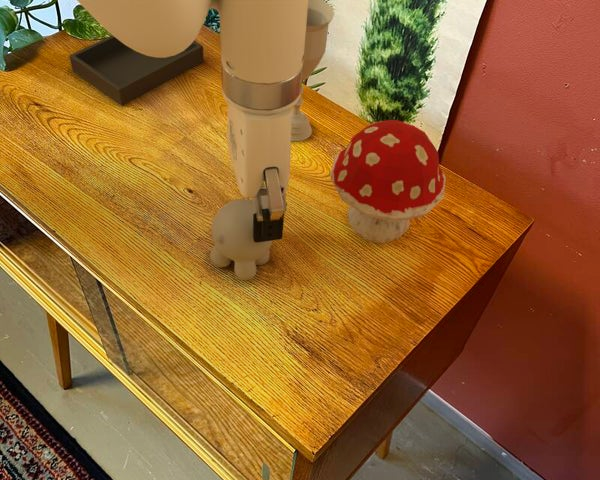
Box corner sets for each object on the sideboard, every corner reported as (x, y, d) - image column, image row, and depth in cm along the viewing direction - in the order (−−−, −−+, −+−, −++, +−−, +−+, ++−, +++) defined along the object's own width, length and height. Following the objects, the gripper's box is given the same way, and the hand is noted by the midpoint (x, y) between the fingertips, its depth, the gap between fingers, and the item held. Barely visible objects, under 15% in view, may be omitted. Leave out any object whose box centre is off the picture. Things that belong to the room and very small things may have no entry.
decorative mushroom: (317, 187, 88) (330, 91, 76) (419, 187, 90) (447, 93, 78) (327, 267, 80) (344, 174, 68) (440, 267, 82) (475, 175, 70)
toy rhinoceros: (307, 233, 83) (313, 183, 76) (247, 292, 77) (248, 243, 70) (262, 207, 85) (264, 155, 79) (199, 261, 79) (196, 211, 72)
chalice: (262, 137, 94) (267, 17, 79) (277, 109, 98) (284, -10, 83) (312, 150, 93) (325, 31, 78) (325, 121, 97) (340, 3, 82)
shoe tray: (121, 105, 95) (119, 89, 93) (72, 71, 99) (68, 55, 97) (203, 61, 103) (203, 45, 101) (155, 31, 107) (153, 15, 105)
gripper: (207, 29, 66) (213, 161, 80) (239, 141, 56) (240, 270, 70) (280, 23, 68) (274, 154, 81) (324, 132, 58) (309, 260, 71)
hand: (258, 207), depth 76 cm, fingers open, 9 cm apart
